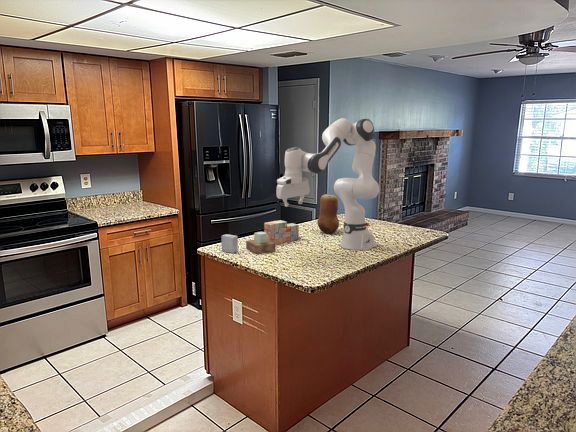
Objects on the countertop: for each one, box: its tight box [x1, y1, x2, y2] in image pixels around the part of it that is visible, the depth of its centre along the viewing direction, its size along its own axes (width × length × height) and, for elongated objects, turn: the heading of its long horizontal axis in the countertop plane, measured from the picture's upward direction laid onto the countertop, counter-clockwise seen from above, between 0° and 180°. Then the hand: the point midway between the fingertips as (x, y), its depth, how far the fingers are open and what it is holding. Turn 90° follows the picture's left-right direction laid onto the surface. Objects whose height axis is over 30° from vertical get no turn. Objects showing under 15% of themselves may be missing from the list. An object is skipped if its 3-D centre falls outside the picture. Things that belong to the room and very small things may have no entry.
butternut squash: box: [317, 193, 340, 235], centre depth 270 cm, size 14×13×25 cm
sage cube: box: [253, 231, 267, 244], centre depth 229 cm, size 5×5×5 cm
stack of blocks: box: [263, 219, 300, 245], centre depth 249 cm, size 21×6×12 cm, turn 129°
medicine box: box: [220, 234, 239, 254], centre depth 227 cm, size 8×4×9 cm, turn 59°
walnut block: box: [245, 239, 277, 255], centre depth 230 cm, size 12×12×5 cm
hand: (293, 205), depth 222 cm, fingers open, 8 cm apart
